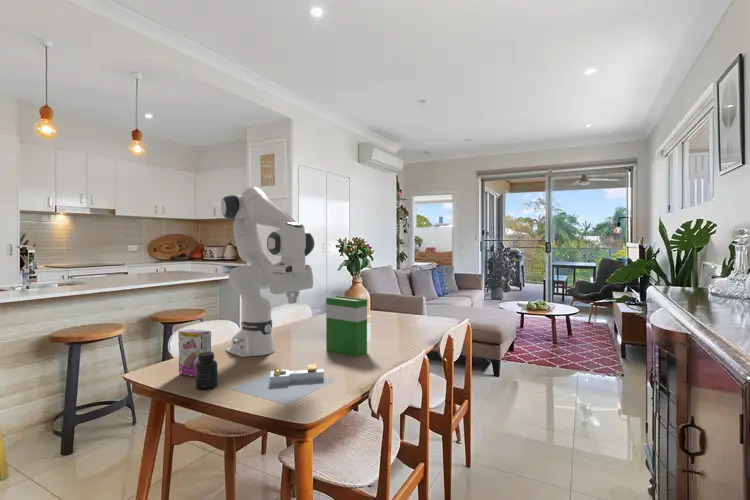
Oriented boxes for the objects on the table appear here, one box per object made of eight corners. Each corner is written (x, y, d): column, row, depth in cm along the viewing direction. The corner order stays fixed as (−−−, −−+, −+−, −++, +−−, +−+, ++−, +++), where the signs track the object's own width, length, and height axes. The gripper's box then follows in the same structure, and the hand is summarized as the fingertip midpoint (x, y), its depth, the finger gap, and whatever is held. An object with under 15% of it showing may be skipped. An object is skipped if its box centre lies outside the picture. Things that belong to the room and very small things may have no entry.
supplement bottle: (200, 385, 133) (199, 350, 133) (220, 384, 134) (220, 350, 133) (192, 393, 126) (191, 356, 126) (213, 392, 127) (213, 356, 127)
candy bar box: (178, 375, 144) (177, 331, 143) (188, 370, 148) (188, 328, 148) (202, 378, 140) (201, 333, 139) (212, 374, 145) (211, 330, 144)
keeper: (308, 380, 136) (308, 368, 136) (307, 376, 140) (307, 364, 140) (316, 379, 136) (316, 368, 136) (315, 375, 141) (315, 364, 141)
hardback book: (326, 350, 176) (326, 297, 176) (337, 346, 182) (337, 295, 182) (356, 357, 166) (356, 301, 165) (367, 353, 172) (367, 299, 171)
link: (322, 375, 141) (322, 367, 141) (324, 381, 134) (324, 373, 134) (271, 379, 137) (270, 370, 137) (269, 385, 131) (269, 377, 131)
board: (230, 391, 128) (230, 388, 128) (281, 370, 149) (281, 368, 149) (287, 407, 116) (287, 404, 116) (334, 382, 136) (334, 379, 136)
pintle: (272, 383, 133) (272, 370, 133) (277, 381, 135) (277, 368, 135) (277, 384, 132) (277, 371, 132) (282, 382, 134) (282, 369, 134)
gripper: (304, 263, 154) (304, 298, 155) (267, 267, 136) (266, 306, 137) (317, 264, 151) (316, 300, 152) (280, 268, 133) (279, 308, 134)
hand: (292, 303), depth 144 cm, fingers closed
